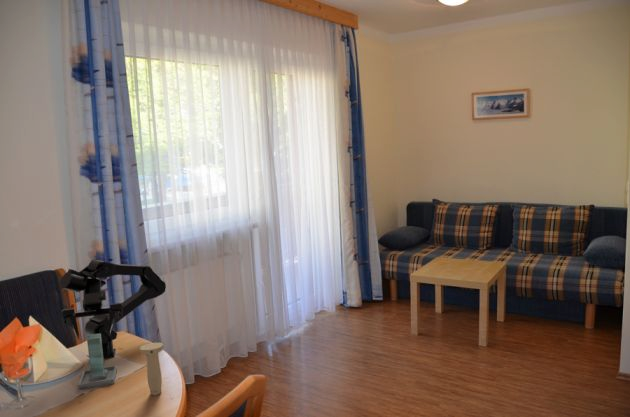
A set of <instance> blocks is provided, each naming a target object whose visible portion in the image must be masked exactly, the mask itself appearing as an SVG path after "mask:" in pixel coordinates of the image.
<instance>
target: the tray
mask: <svg viewBox="0 0 630 417" xmlns="http://www.w3.org/2000/svg"><path fill="white" fill-rule="evenodd" d="M117 366H118V365H117V364H116V365H110V366H104V367H105V370H108V374H107V378H106V380H100V381H94V382H89V377H90V373H91V369H84V370H83V371H82V373H81V376H80V379H79V382H78V384H77V385H78V390H79V389H80V390H86V389H91V388H97V387H103V386H109V385H114V384H115V381H116V377H117V372H118V367H117Z"/></svg>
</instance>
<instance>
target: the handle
mask: <svg viewBox="0 0 630 417" xmlns="http://www.w3.org/2000/svg"><path fill="white" fill-rule="evenodd" d="M163 349H164V346H163V343H162V342H150V343H145V344H142V345H141V346H140V347H139V351H140V353H141V354H142V355H144V356H145V357H146V374H147V375H146V376H147V383H148V388H149V392H150V393H149V394H150V395H151V396H158V395H160V394H162V386H163V385H162V383H163V382H162V380H163V377H162V372H161V366H160V358H159V353H160V352H162V351H163Z"/></svg>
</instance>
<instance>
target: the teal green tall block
mask: <svg viewBox="0 0 630 417" xmlns="http://www.w3.org/2000/svg"><path fill="white" fill-rule="evenodd" d="M87 335H88V334H87ZM86 341H87V350H88V360H89V368H90V369H91V373H90V377H89V382H94V381H100V380H106V378H107V374H108V370H105V367H106V366H105V361H104V359H105V358H103V349H102V340H101V333H100V334H93V335H88V336H87V338H86Z"/></svg>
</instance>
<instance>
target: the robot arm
mask: <svg viewBox="0 0 630 417" xmlns="http://www.w3.org/2000/svg"><path fill="white" fill-rule="evenodd" d="M114 276H138V277H139V281H140V282H141V285H140V287H139V289H138V290H137V292H135V293H133V294H132V295H131V296H130V297H128V298H126V299H125V300H124V301H122V302H115V303H110V304H109V307H104V308H103V301H106V300H107V294H106V289H105V290H104V289H103V290H102V288H103V287H104V286H106V285H107V282H106V281H105V280H103V279H105V278H111V277H114ZM166 285H167V284H166V282H165V281H164V280H163V279H162V278H161V277H160V276H159V275H158V274H157V273H155V271H154V270H153V269H152V268H151V266H149V265H145V264H123V263H121V264H120V263H112V262H108V261H104V260H101V259H92V260H91V261H90V262H89V263H88V264H87V265H86V266H85V267H84V268H83V269H81V270H80V271H77V270H74V269H71V268H68V270H67V272H65V273H64V274H63V276H62V277H61V278H60V281H59V287H60V288H61V289H63V290H67V291H70V292H74V293H80V292H82V294H83V295H82V296H83V297H82V298H83V300H82V309H83V310H80V311H76V308H75V307H72V308H63V309H62V310H61V313H60V315H61V322H62V324H63V325H67V327H71V329H72V330H73V332H74V334H75V337H76V338H77V340H80V332H79V328H78V322H77V319H78V318H85V317H86V318H87V317H89V318H88V321H87V322H86V323H85V327H84V331H85V334H87V335H93V334H100V333H101V340H102V349H103V358H104V359H108V358H109V359H110V358H115V354H116V351H117V348H114V340H117V337H118V332H117V331H116V330H115V331H114V328H115V326H116V325H117V323H118V322H119V321H121V320H123V319H124V318H126V316H128V315H129V314H130V313H132V312H133V311H135V310H136V309H137V308H138V307H140V306H141V305H143V304H144V303H145V302H147V301H149V300H152V299H156V298H158V297H160V296H162V295H163V294H165V292H166V288H167V287H166Z"/></svg>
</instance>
